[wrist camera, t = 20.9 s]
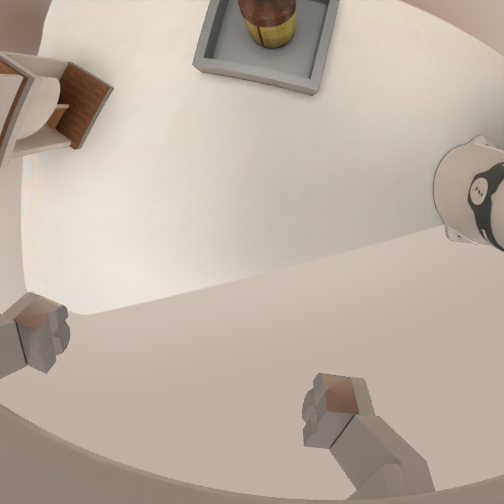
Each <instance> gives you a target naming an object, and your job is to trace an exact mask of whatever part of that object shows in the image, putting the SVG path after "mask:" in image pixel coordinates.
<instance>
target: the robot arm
mask: <svg viewBox="0 0 504 504" xmlns="http://www.w3.org/2000/svg"><path fill="white" fill-rule="evenodd" d="M434 200H435V204H436V208H437V210H438V212H439V214H440V216H441V218H442V219H443V221H444V224H445V232H446V236H447V238H448V239H449V240H451V241H456V242H466V243H473V244H476V245H478V244H487V245H492V246H494V247H495V248H498V249H499V250H501V251H504V151H503V150H500V149H497V148H496V147H495V146H494V145H493V144H492V143H491V142H490V141H489V140H488V139H487V138H486V137H484V136H481V135H478V136H476V137H475V138H474V139H473V140H472V141H471V142H470V143H468V144H465V145H461V146H458V147H456V148H454V149H452V150H451V151H450V152H449V153H447V154H446V156H445V157H444V158H443V159H442V161H441V163H440V164H439V167H438V169H437V172H436V175H435V179H434ZM457 234H459V235H458V236H457ZM67 317H68V312H67V308H66V307H65V306H64V305H61V304H59V303H57V302H54V301H52V300H50V299H47V298H45V297H43V296H40V295H37V294H35V293H33V292H28V293H26V294H25V295H24V296H23V297H22V298H20V299H19V300H18V301H17V302H16V303H15V304H13V305H12V306H11V307H10V308H9V309H8V310H6V311H5V312H4V313H3V314H2V315H1V314H0V379H1V378H3V377H5V376H7V375H9V374H11V373H13V372H16V371H18V370H19V369H22V368H24V367H26V366H27V365H29V366H31V367H33V368H35V369H37V370H39V371H41V372H44V373H47V372H48V371H49V370H50V368H51V367H52V366H53V365H54V363H55V362H56V355H58V354H61V353H63V352H64V350H65V349H66V348H67V345H68V343H69V339H70V328H69V326H68V324H67V323H66V321H65V320H66V319H67ZM313 386H314V388H313V389H311V390H309V391H308V392H307V395H306V397H305V399H304V403H303V409H302V418H303V420H304V421H305V422H306V423H307V424H306V425H305V427H304V429H303V437H304V446H308V447H316V448H326V449H330V452H331V453H332V455H333V456H334V458H335V459H336V461H337V462H338V463H339V465H340V466H341V468H342V469H343V471H344V472H345V474H346V475H347V476H348V478H349V479H350V481H351V482H352V484H353V485H354V486H355V488H356V489H357V491H356V492H355V493H353V494H352V495H351V496H350V497H349V498H348V499H346V500H303V499H287V498H276V497H265V496H257V495H249V494H242V493H236V492H230V491H224V490H219V489H214V488H209V487H204V486H199V485H195V484H191V483H186V482H182V481H178V480H175V479H171V478H167V477H163V476H160V475H156V474H153V473H150V472H147V471H143V470H140V469H137V468H134V467H131V466H128V465H126V464H123V463H120V462H117V461H114V460H112V459H109V458H106V457H104V456H101V455H99V454H97V453H94V452H91V451H89V450H87V449H84V448H82V447H80V446H78V445H76V444H73V443H71V442H69V441H67V440H64V439H63V438H61V437H58V436H56V435H55V434H52V433H51V432H49V431H47V430H45V429H43V428H41V427H39V426H37V425H35V424H34V423H32V422H30V421H28V420H26V419H25V418H23V417H21V416H20V415H18V414H16V413H15V412H13V411H11V410H10V409H8V408H6V407H5V406H3V405H2V404H0V504H504V475H501V476H497V477H494V478H491V479H487V480H484V481H480V482H476V483H473V484H468V485H464V486H460V487H455V488H451V489H446V490H441V491H435V489H434V485H433V482H432V478H431V475H430V472H429V468H428V465H427V462H426V460H425V459H424V458H422V456H421V455H419V453H417V452H416V451H415V450H414V449H413V448H412V447H411V446H410V445H409V444H408V443H407V442H406V441H405V440H404V439H403V438H402V437H401V436H400V435H399V434H397V433H396V432H395V431H394V430H393V429H392V428H391V427H390V426H389V425H388V424H387V423H386V422H385V421H384V420H383V419H382V418H381V417H380V416H375V413H374V409H373V405H372V402H371V398H370V395H369V391H368V388H367V385H366V381H365V380H364V379H363V378H355V377H345V376H337V375H330V374H323V373H318V374H317V375H316V377H315V379H314V381H313Z"/></svg>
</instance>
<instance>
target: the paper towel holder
mask: <svg viewBox="0 0 504 504" xmlns="http://www.w3.org/2000/svg"><path fill="white" fill-rule="evenodd" d="M113 89H114V88H113V87H111V86H110V85H108V84H106V83H105V82H103V81H102V80H100V79H98V78H97V77H95V76H93V75H92V74H90V73H89V72H87V71H85V70H84V69H82V68H80V67H79V66H77V65H75V64H73V63H71V62H66V61H61V60H56V59H50V58H45V57H39V56H32V55H26V54H19V53H11V52H3V51H0V167H4V166H7V165H8V163H9V160H10V159H12V158H17V157H21V156H25V155H29V154H34V153H38V152H43V151H48V150H52V149H57V148H63V147H68V146H70V147H72V148H73V149H74V150H75V149H80V148H81V147H82V145H83V143H84V141H85V139H86V137H87V135H88V133H89V131H90V130H91V128H92V126H93V124H94V122H95V120H96V118H97V116H98V115H99V113H100V111H101V109H102V107H103V106H104V104H105V102H106V101H107V99H108V97H109V95H110V94H111V92H112V90H113Z"/></svg>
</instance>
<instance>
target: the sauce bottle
mask: <svg viewBox="0 0 504 504" xmlns="http://www.w3.org/2000/svg"><path fill="white" fill-rule="evenodd" d="M237 2H238V5H239V8H240V12H241V14H242V16H243V19H244V21H245V23H246V26H247V28H248V30H249V33H250V35H251V37H252V38H253V39H254V41H256V42H257V43H258V44H259V45H261V46H263V47H265V48H270V49H275V48H280V47H283V46H285V45H286V44H287V43H288V42H289V41H290V40H291V39H292V38H293V36H294V33H295V24H296V0H237Z"/></svg>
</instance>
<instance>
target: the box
mask: <svg viewBox="0 0 504 504" xmlns="http://www.w3.org/2000/svg"><path fill="white" fill-rule="evenodd" d="M339 1H340V0H296V24H295V33H294V36H293V38H292V39H291V40H290V41H289V42H288V43H287V44H286V45H285V46H283V47H280V48H275V49H270V48H265V47H263V46H261V45H259V44H258V43H257V42H256V41H254V39H253V38H252V37H251V35H250V33H249V30H248V28H247V26H246V23H245V21H244V19H243V16H242V14H241V12H240V8H239V5H238V2H237V0H210V3H209V7H208V10H207V13H206V16H205V20H204V23H203V27H202V30H201V34H200V37H199V41H198V44H197V48H196V52H195V56H194V59H193V63H192V65H193V66H194V67H195V68H197V69H198V70H200V71H201V72H203V73H209V74H216V75H222V76H228V77H234V78H239V79H244V80H249V81H254V82H259V83H264V84H268V85H273V86H277V87H281V88H285V89H289V90H293V91H297V92H301V93H305V94H308V95H314V94H315V93H316V92H317V91H318V88H319V84H320V80H321V76H322V72H323V68H324V64H325V60H326V56H327V52H328V48H329V43H330V39H331V35H332V31H333V26H334V22H335V18H336V14H337V9H338V5H339Z"/></svg>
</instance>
